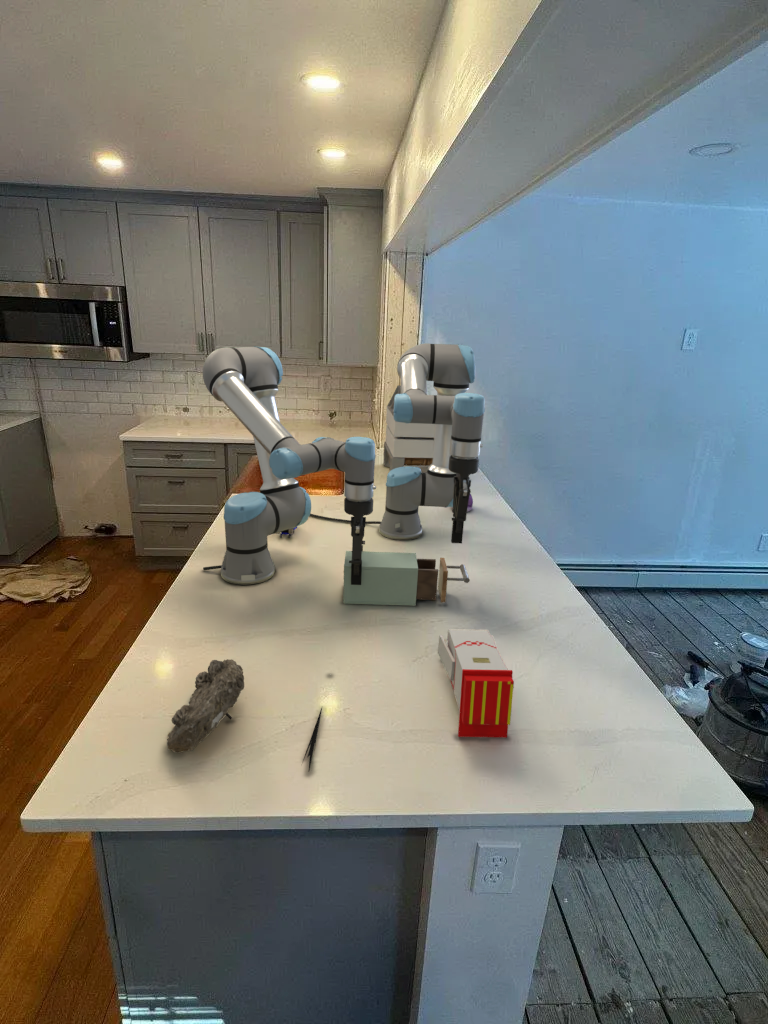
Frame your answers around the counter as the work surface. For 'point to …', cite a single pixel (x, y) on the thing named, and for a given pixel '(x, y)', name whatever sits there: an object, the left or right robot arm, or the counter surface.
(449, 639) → the toy
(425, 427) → the white slatted crate
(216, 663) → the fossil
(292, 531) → the figurine character
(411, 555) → the cabinet
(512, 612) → the counter surface
